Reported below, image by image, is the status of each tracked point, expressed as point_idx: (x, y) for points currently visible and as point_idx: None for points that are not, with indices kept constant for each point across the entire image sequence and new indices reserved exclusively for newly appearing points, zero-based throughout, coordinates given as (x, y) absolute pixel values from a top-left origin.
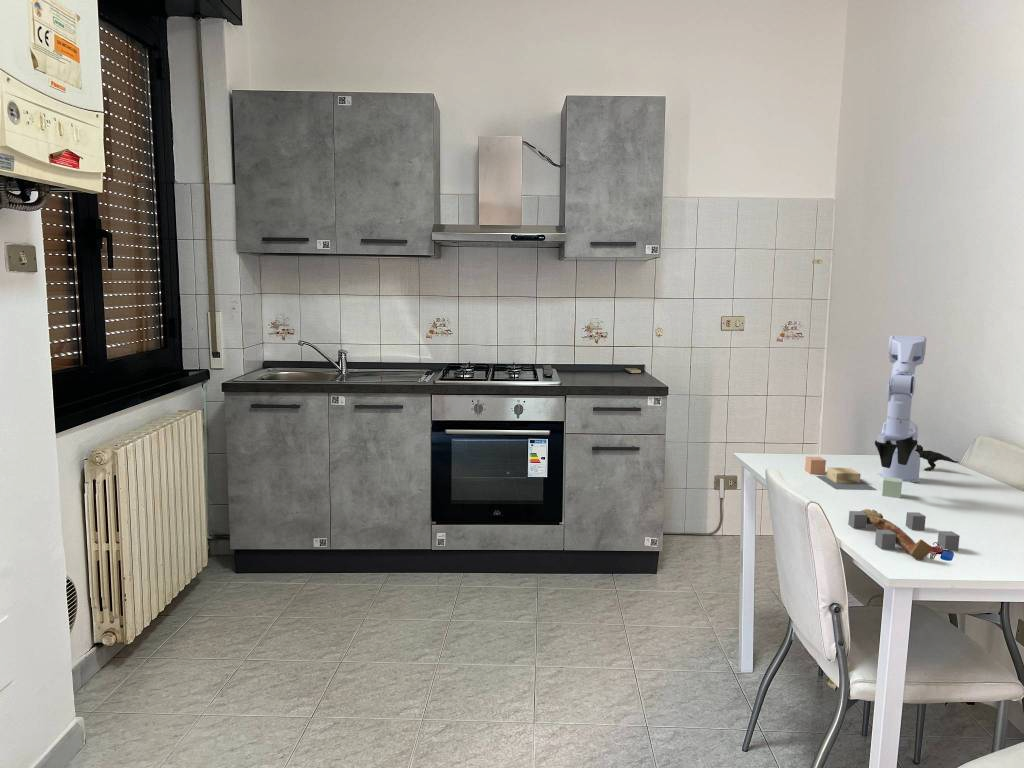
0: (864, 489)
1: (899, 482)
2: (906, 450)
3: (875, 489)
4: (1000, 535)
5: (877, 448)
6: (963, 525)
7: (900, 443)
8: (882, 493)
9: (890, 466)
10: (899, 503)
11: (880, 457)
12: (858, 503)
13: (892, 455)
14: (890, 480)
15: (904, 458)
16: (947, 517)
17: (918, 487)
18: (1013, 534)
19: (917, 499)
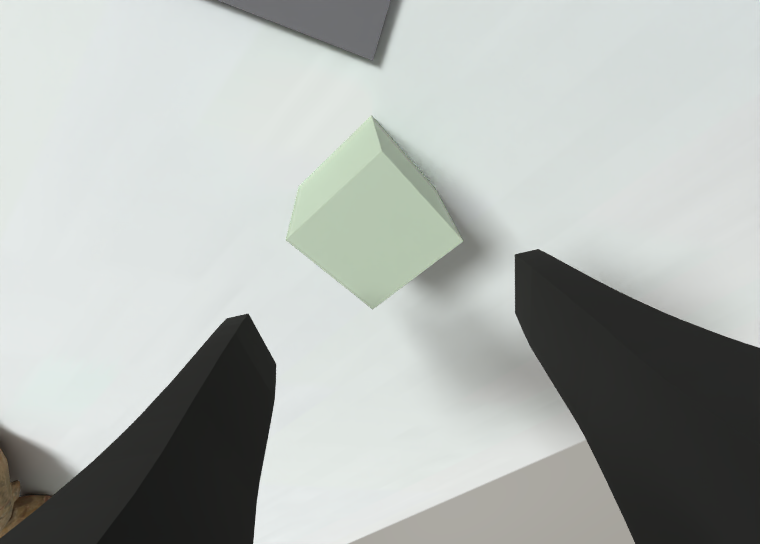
0: (277, 11)
1: (364, 300)
2: (609, 452)
3: (368, 39)
4: (364, 519)
5: (16, 535)
6: (338, 476)
7: (705, 497)
8: (297, 196)
9: (275, 379)
10: (311, 293)
11: (165, 396)
12: (71, 257)
13: (245, 516)
14: (334, 258)
15: (548, 351)
16: (357, 432)
17: (754, 43)
18: (404, 516)
19: (461, 259)
